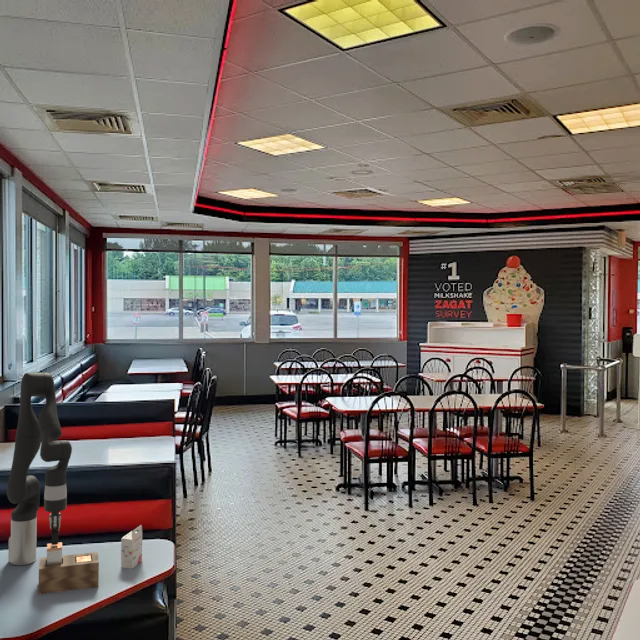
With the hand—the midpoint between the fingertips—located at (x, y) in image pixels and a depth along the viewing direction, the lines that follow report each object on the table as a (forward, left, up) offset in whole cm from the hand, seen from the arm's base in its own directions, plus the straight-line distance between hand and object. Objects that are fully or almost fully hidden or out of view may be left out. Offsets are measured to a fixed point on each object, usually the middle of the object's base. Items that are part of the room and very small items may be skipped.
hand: (54, 543), depth 238 cm
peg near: (0, 0, -9) cm, 9 cm away
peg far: (+8, +6, -15) cm, 18 cm away
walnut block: (+4, +3, -16) cm, 16 cm away
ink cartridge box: (+14, +27, -16) cm, 34 cm away
